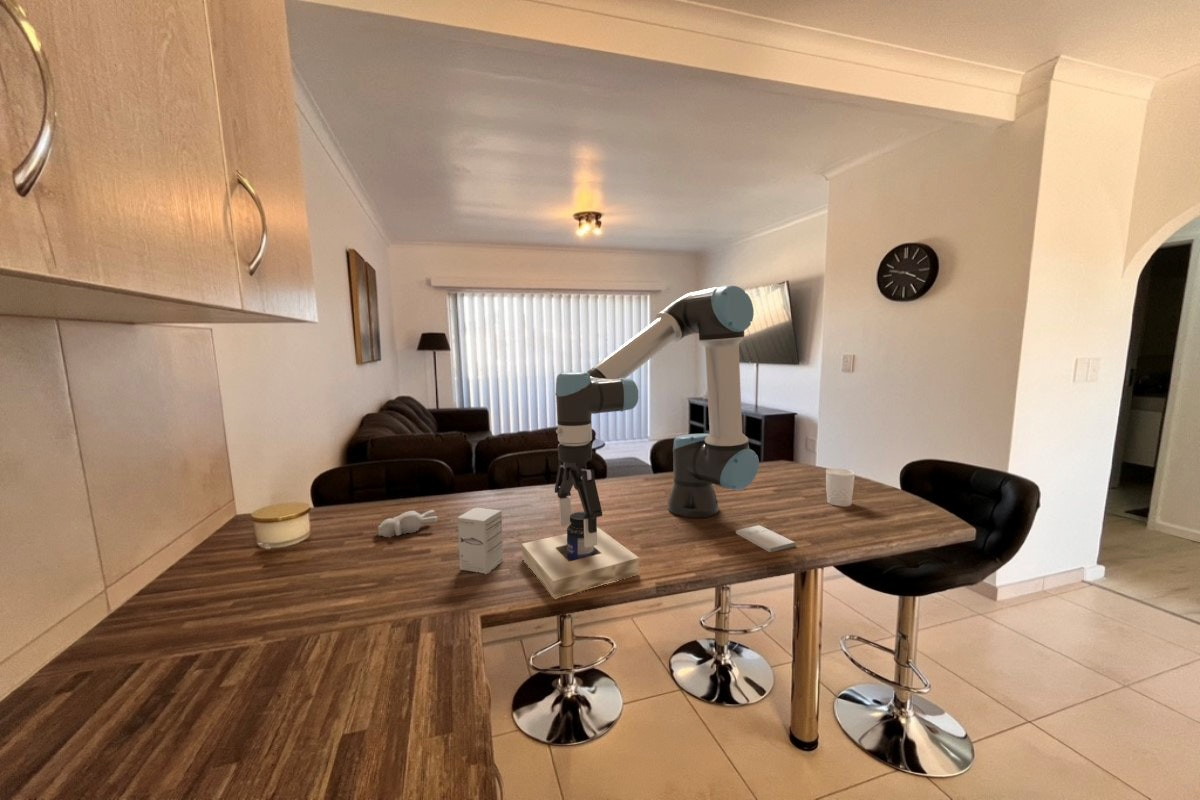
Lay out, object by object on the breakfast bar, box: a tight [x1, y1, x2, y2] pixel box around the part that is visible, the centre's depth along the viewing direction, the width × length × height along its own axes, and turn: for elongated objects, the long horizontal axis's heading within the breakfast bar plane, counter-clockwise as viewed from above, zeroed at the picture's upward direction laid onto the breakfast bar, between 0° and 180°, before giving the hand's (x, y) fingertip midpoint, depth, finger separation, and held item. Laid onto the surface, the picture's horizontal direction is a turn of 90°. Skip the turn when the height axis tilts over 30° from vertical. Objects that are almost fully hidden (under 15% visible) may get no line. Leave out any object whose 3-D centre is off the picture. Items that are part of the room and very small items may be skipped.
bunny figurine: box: [377, 509, 438, 538], centre depth 126 cm, size 10×5×15 cm
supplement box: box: [457, 507, 504, 575], centre depth 104 cm, size 7×7×13 cm
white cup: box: [825, 467, 856, 507], centre depth 140 cm, size 8×8×10 cm
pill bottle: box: [566, 511, 594, 562], centre depth 102 cm, size 6×6×11 cm
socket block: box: [521, 526, 640, 599], centre depth 103 cm, size 20×20×4 cm
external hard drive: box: [735, 524, 797, 553], centre depth 116 cm, size 2×8×12 cm
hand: (577, 534), depth 102 cm, fingers open, 13 cm apart
